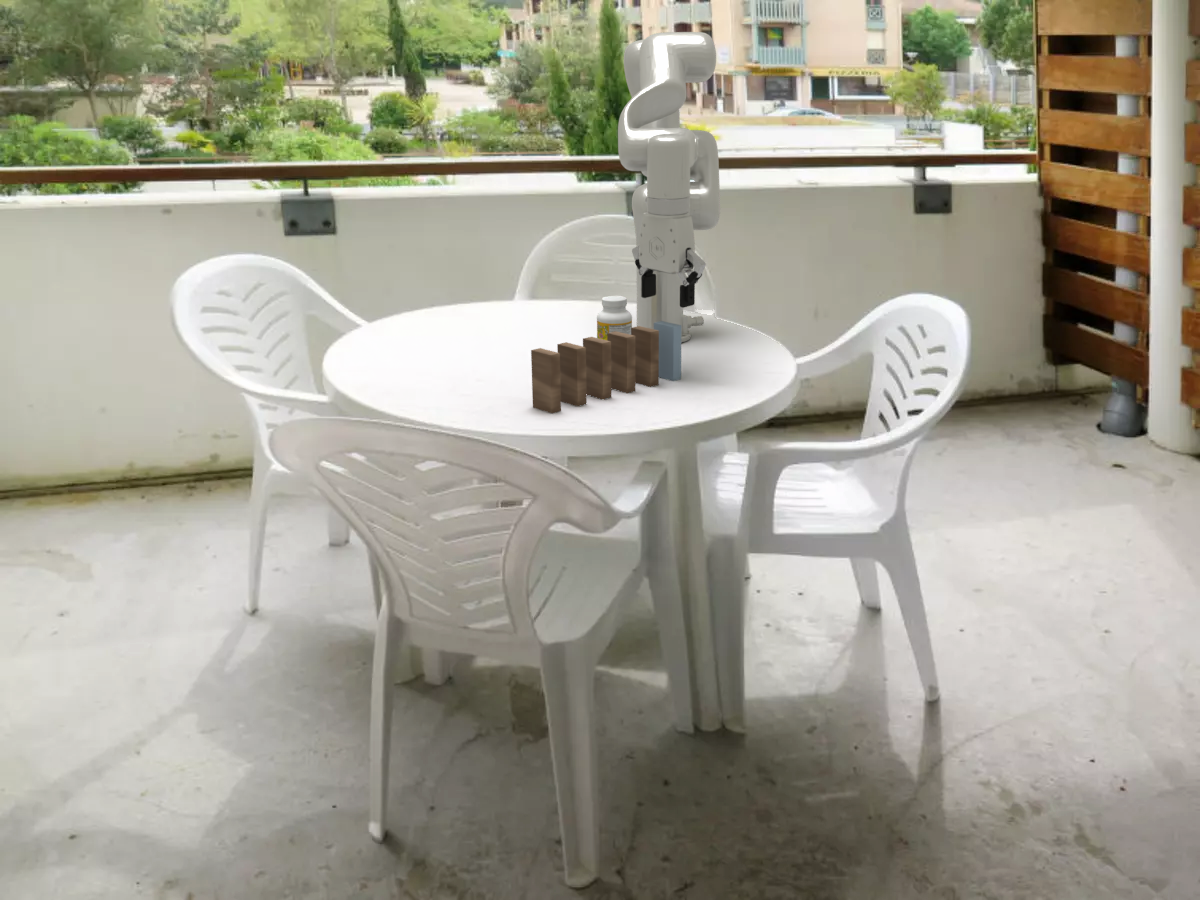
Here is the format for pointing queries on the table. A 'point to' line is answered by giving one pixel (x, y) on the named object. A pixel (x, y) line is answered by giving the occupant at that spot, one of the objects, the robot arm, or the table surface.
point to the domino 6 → (669, 350)
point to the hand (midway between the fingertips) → (667, 301)
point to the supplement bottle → (613, 317)
